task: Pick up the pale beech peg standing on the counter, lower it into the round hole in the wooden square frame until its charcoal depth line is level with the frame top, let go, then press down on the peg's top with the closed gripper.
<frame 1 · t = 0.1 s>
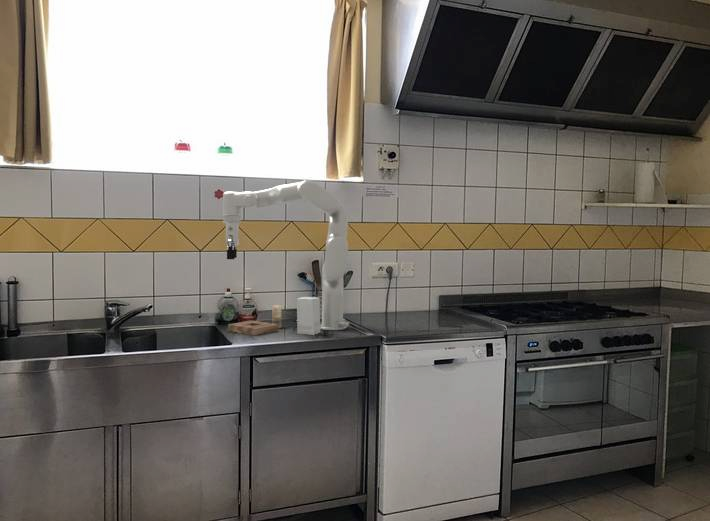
hand: (231, 258, 265), 31 cm above the worktop, tool pointing down, fingers open, 9 cm apart
skincare box: (308, 334, 257), on the worktop
wooden square frame: (253, 331, 260), on the worktop
beech peg: (276, 327, 270), on the worktop
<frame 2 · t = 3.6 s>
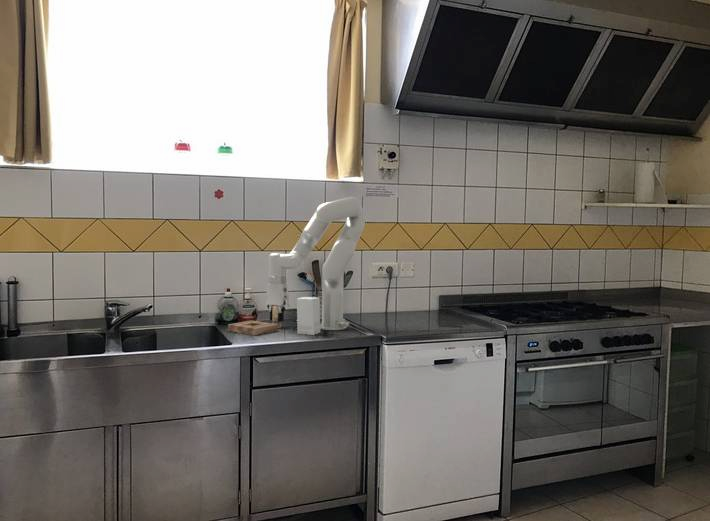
hand: (276, 320, 270), 3 cm above the worktop, tool pointing down, fingers closed on beech peg, 4 cm apart
beech peg: (276, 327, 270), on the worktop, touching gripper
everything else where it was.
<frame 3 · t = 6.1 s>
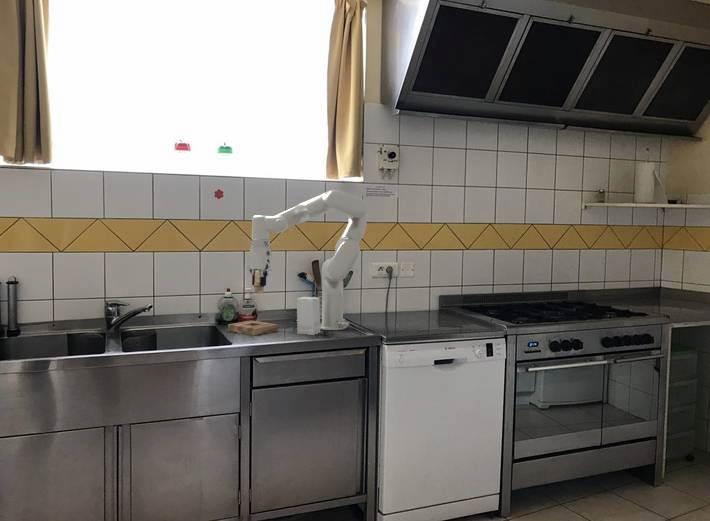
hand: (259, 285, 262), 20 cm above the worktop, tool pointing down, fingers closed on beech peg, 4 cm apart
beech peg: (258, 292, 262), point 16 cm above the worktop, touching gripper
everything else where it was.
when the fingers open (4 cm above the worktop, at t = 8.8 s): beech peg stays where it is, resting in wooden square frame.
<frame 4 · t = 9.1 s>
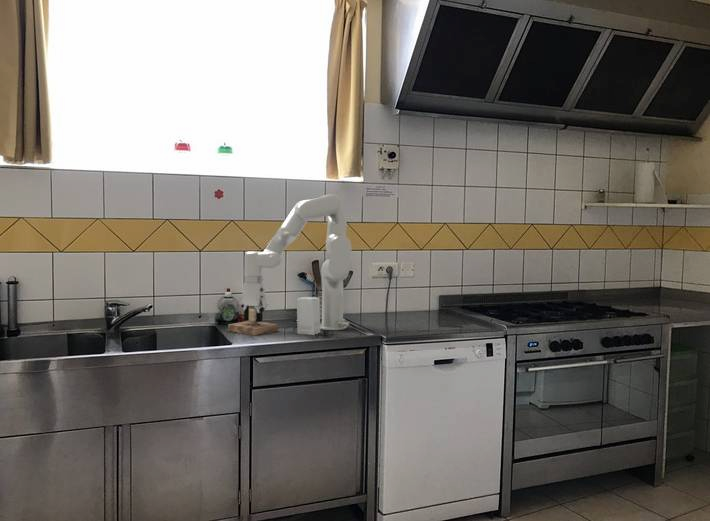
hand: (253, 320, 260), 5 cm above the worktop, tool pointing down, fingers open, 6 cm apart
beech peg: (253, 331, 260), resting in wooden square frame
everything else where it was.
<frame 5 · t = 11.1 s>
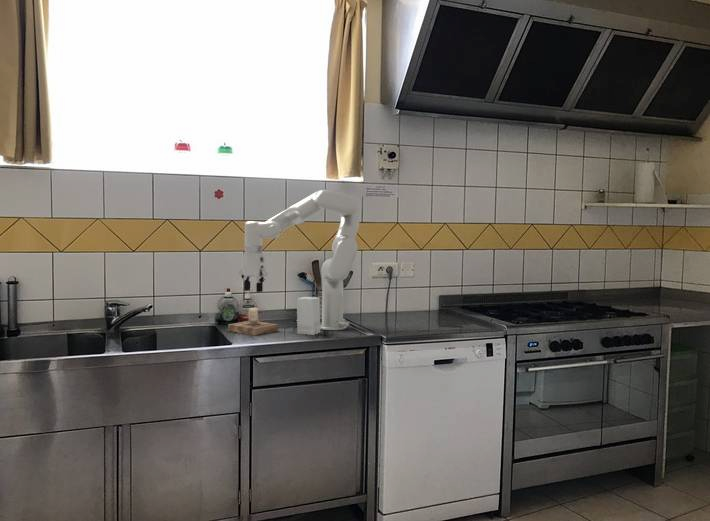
hand: (253, 290, 259), 18 cm above the worktop, tool pointing down, fingers open, 6 cm apart
nothing on the worktop moved.
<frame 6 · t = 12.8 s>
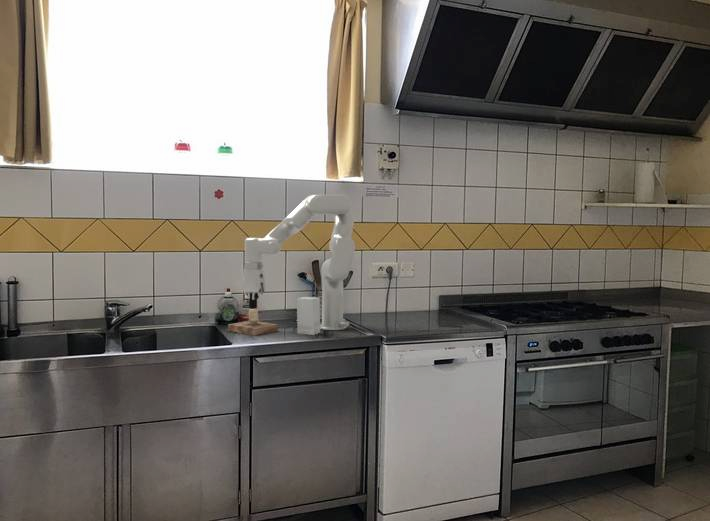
hand: (253, 308, 260), 10 cm above the worktop, tool pointing down, fingers closed
beech peg: (253, 331, 260), resting in wooden square frame, touching gripper
everything else where it was.
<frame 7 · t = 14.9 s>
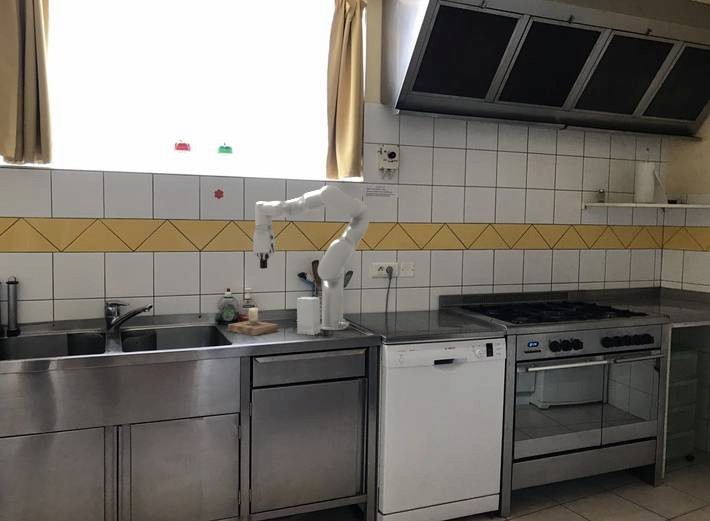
hand: (263, 268, 276), 26 cm above the worktop, tool pointing down, fingers closed
beech peg: (253, 331, 260), resting in wooden square frame
everything else where it was.
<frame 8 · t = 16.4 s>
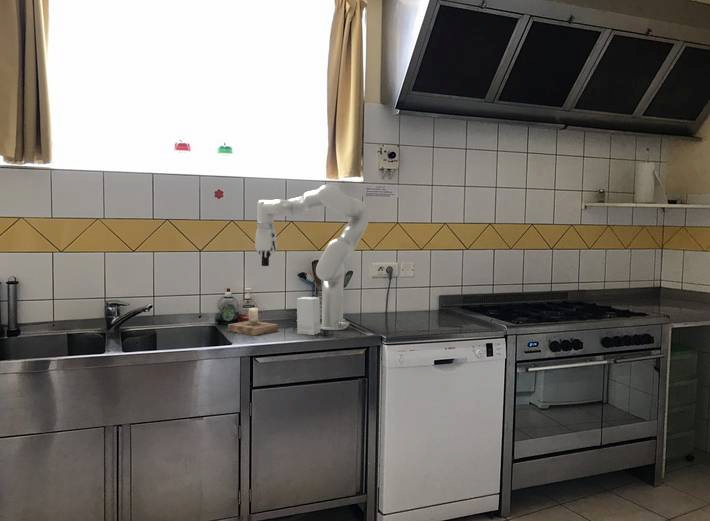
hand: (265, 265, 279), 27 cm above the worktop, tool pointing down, fingers closed
nothing on the worktop moved.
at the end: beech peg 0.1 cm off-centre on the wooden square frame, point 0.0 cm above the wooden square frame's base; beech peg tilted 0°; the gripper is holding nothing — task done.
